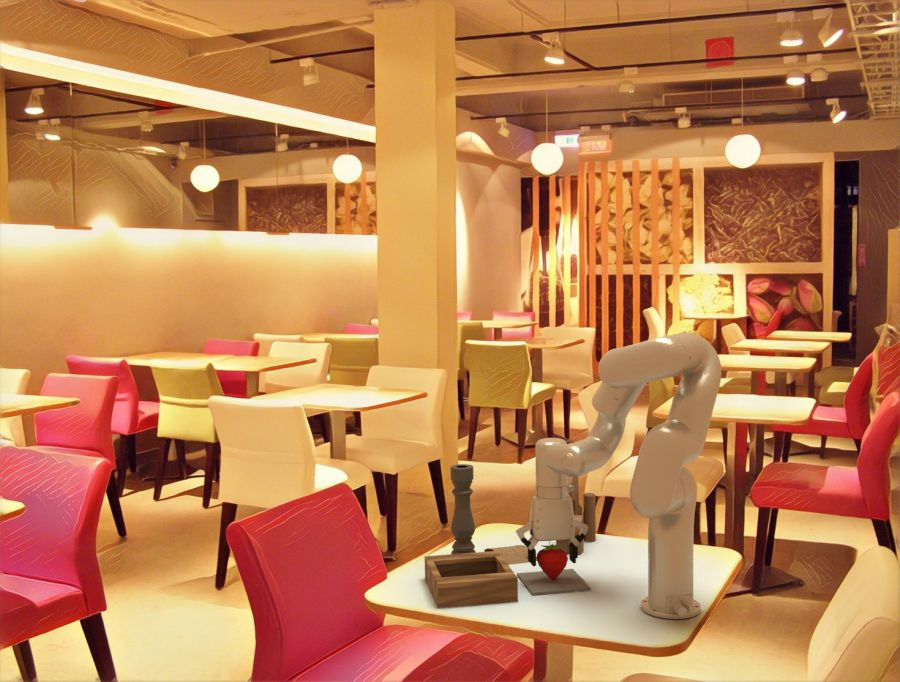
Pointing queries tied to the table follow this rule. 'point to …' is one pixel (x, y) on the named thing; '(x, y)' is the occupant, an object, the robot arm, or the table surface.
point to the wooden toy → (586, 518)
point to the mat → (553, 582)
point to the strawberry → (552, 560)
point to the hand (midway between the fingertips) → (552, 563)
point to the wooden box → (470, 579)
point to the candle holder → (462, 509)
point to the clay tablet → (513, 554)
